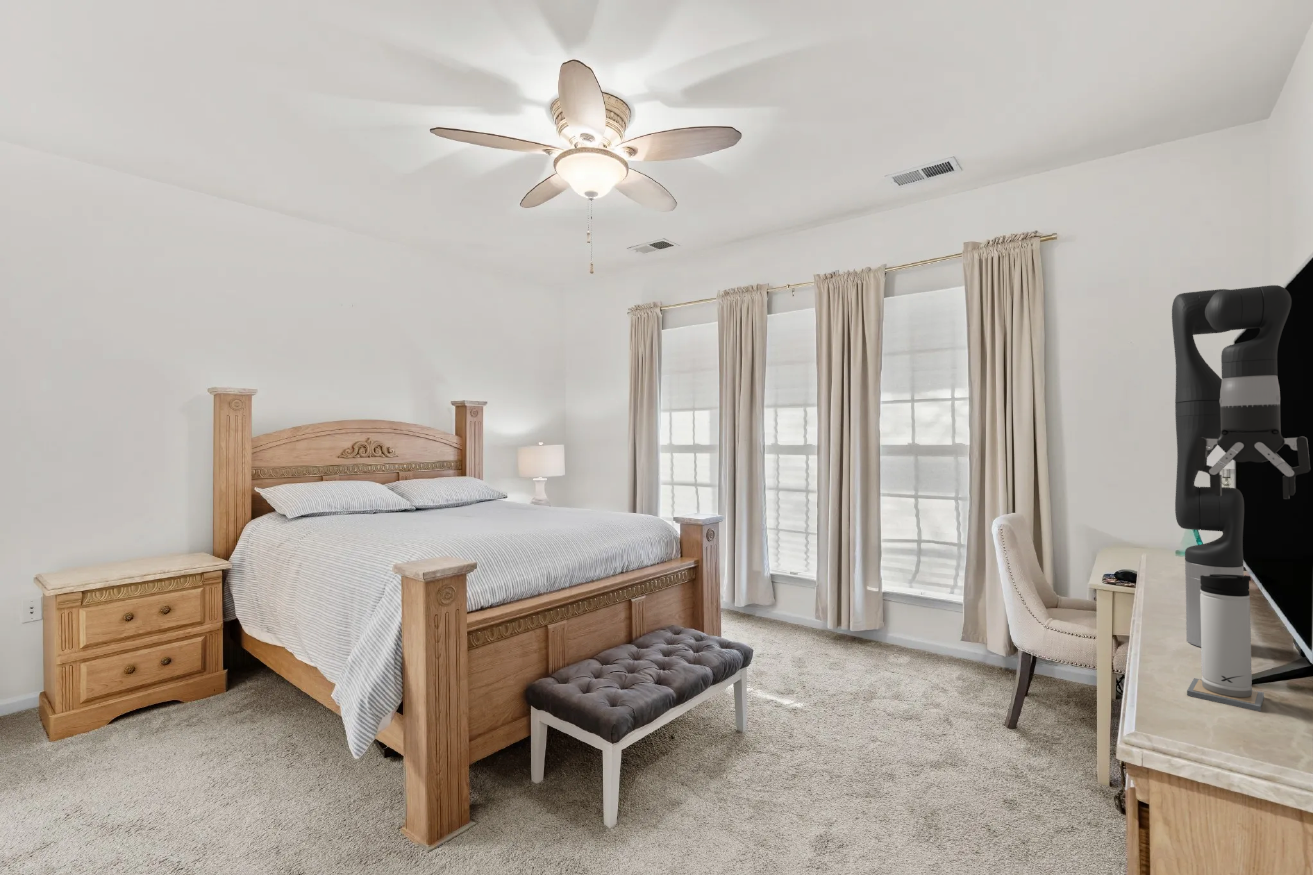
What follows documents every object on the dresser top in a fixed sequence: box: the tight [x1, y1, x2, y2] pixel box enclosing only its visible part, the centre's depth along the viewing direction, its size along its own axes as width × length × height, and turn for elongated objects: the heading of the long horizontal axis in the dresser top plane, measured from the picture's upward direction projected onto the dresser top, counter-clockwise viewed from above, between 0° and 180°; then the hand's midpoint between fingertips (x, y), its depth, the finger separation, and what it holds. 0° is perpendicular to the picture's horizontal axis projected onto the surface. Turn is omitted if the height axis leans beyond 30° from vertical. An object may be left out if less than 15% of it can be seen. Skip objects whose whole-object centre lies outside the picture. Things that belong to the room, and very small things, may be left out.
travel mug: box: [1200, 574, 1253, 698], centre depth 106 cm, size 6×7×20 cm
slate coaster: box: [1186, 678, 1265, 712], centre depth 106 cm, size 8×9×1 cm
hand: (1251, 497), depth 108 cm, fingers open, 8 cm apart
